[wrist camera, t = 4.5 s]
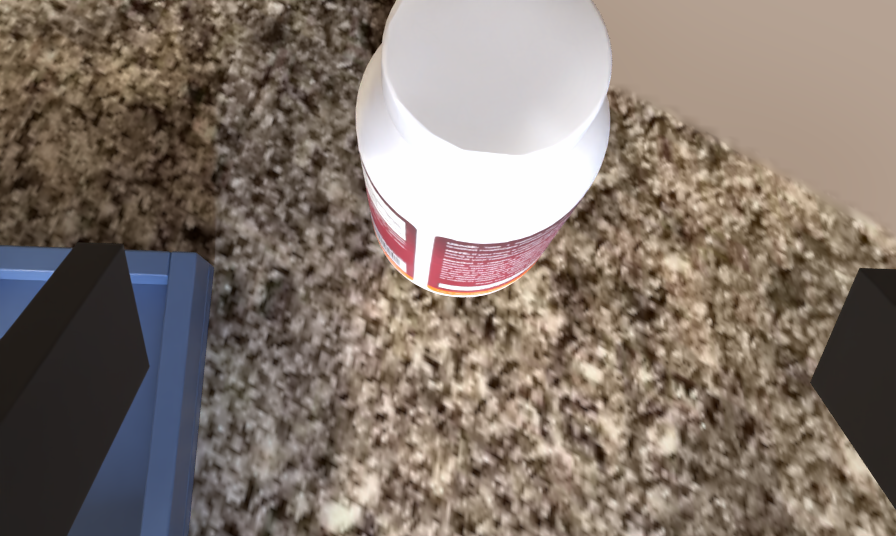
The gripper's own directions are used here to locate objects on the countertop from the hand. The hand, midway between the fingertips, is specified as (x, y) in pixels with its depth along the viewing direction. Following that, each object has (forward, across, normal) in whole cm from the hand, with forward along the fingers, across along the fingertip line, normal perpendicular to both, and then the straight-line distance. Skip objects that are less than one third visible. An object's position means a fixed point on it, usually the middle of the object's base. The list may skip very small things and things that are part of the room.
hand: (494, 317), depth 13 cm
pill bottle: (+12, 0, -4) cm, 12 cm away
